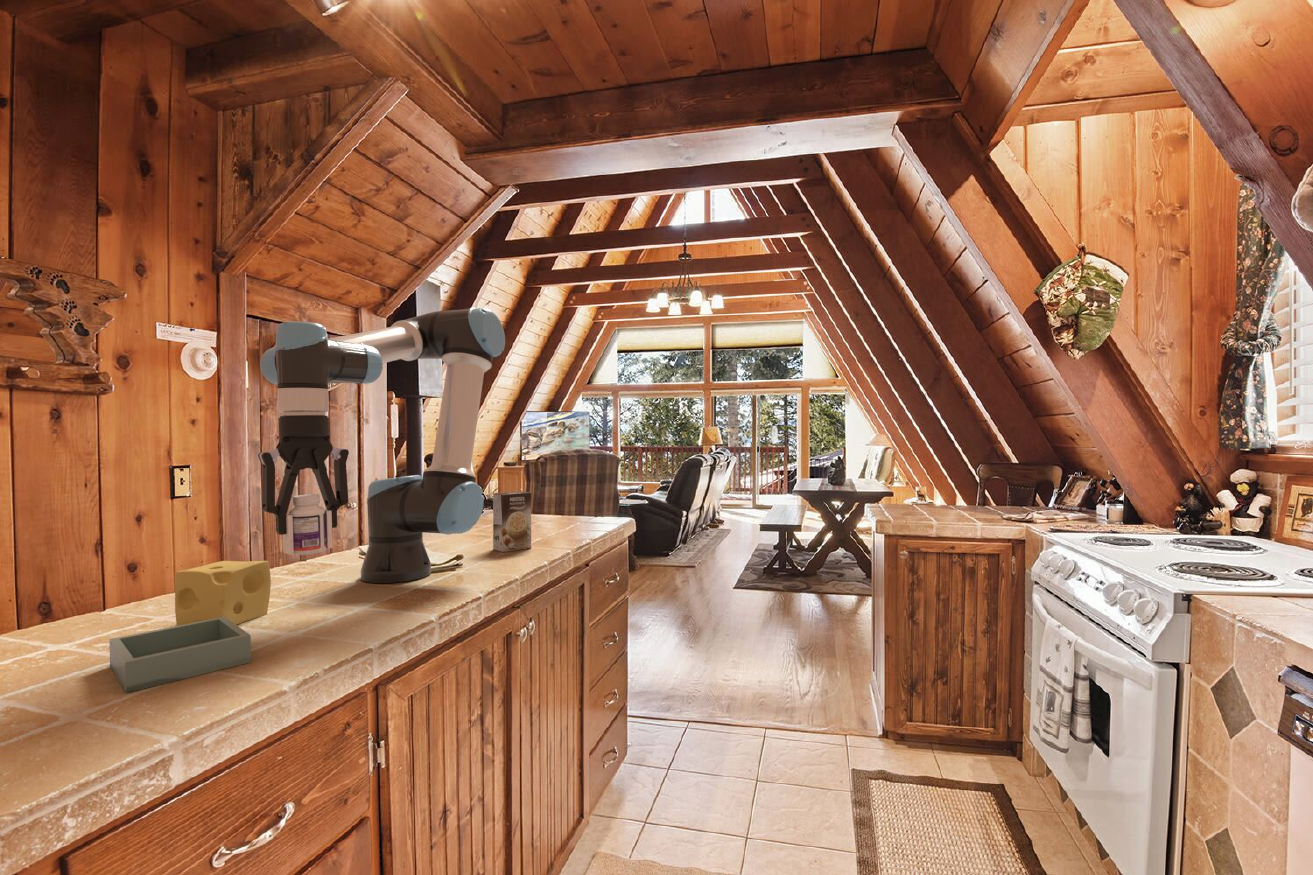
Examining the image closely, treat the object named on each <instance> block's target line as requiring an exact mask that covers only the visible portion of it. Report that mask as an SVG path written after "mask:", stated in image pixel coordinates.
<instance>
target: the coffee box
mask: <svg viewBox="0 0 1313 875" xmlns="http://www.w3.org/2000/svg"><path fill="white" fill-rule="evenodd" d="M492 509H493V510H492V529H493V530H492V549H493V550H494V551H498V552H502V553H505V552H513V551H520V550H521V549H522V550H528V549H527V548H529V549H531V548H532V492H530V491H529V492H527V491H509V492H493V494H492Z"/></svg>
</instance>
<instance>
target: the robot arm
mask: <svg viewBox="0 0 1313 875" xmlns="http://www.w3.org/2000/svg"><path fill="white" fill-rule="evenodd" d="M275 330H276V334H275V346H273V347H271V348H269V349H267V350H265V352H264V353H263V354H262V356H261V358H260V361H259V362H260V363H259V366H260V371H261V373H262V375H263V377H264V378H265V380H267V382H269V383H270V384H273V385H275V386H277V407H278V408H277V410H278V412H279V413H282V415H281V416H280V415H279V417H278V418H277V419H278V420H277V421H278V423H277V424H278V443H277V445H276V447H275V449H271V450H268V451H266V452H265V451H261V452H259V453H258V454H257V457H258V459H259V462H260V465H261V510H262V511H263V512H264V513H265V512H266V513H269V514H273V515H274V516H275V532H276V534H277V535H279V536H282V553H283V554H286V555H289V556H290V555H293V554H294V549H293V516H292V515H290V514H289V513H288V510H289V508H290V503H291V501H292V498H293V492H294V489H295V486H296V481H297V479H298V476H299V474H300V470H306V469H311V472H312V473H313V474H314V476H315V480H316V483H317V485H318V488H319V491H320V496H321V497H322V501H323V502H324V506H325V508H326V509H325V508H324V510H325V532H326V549H327V550H328V549H333V548H334V547H333V545H334V544H333V529H336V528H337V527H338V510H339V509H340V507H343V506H346V505H348V504H349V489H348V487H349V486H348V472H347V470H348V469H347V461H348V457H349V454H350V451H349V450H348V449H346V448H340V447H334V445H333V444H332V442H331V440H330V436H331V435H330V433H331V432H330V417H328V415H326V413H327V412H329V411H330V403H329V384H330V385H331V384H355V385H362V384H366V385H367V384H368V385H369V384H372V383H374V382H376V381H377V380H378V379H379V378H380V376H381V375H382V373H383V368H384V367H383V365H384V364H385V363H390V362H393V361H399V360H403V361H406V362H411V361H415V360H421V359H422V360H424V359H425V360H427V359H436V360H437V359H440V360H441V361H442V362H443V363H444V365H445V366H446V372H445V378H444V385H443V388H442V389H443V390H442V395H441V396H442V397H441V403H440V409H439V417H438V421H437V422H438V424H437V430H436V435H435V440H434V448H433V454H432V460H431V464H430V465H429V466H428V467H427V468H426V469H424V470H423V474H422V476H421V475H419V474H414V475H406V476H399V477H392V478H385V479H383V478H382V479H377V480H374V481H372V482H370V484H369V485H368V487H367V488H368V490H367V491H368V492H367V498H366V501H367V502H366V503H367V504H366V505H367V526H368V528H367V529H368V546H367V550H366V553H365V555H364V558H363V562H362V564H361V568H360V580H361V581H362V582H365V583H368V584H369V583H371V584H392V583H393V584H394V583H402V582H404V583H405V582H409V581H414V580H418V579H422V578H425V577H428V576H429V575H431V574H432V563H431V560H430V558H429V555H428V552H427V549H426V546H425V544H424V540H423V537H424V535H423V534H424V533H425V534H443V535H453V534H455V535H457V534H458V535H459V534H460V535H461V534H464V533H467V532H469V531H470V530H471V529H472V528H473V527H474V526H476V525H477V523H478V522H479V520H480V518H481V516H482V514H483V509H484V505H485V503H484V502H485V499H484V498H485V497H484V495H483V489H482V487H481V486H480V485H479V484H478V483H476V480H477V476H476V475H475V474H474V472H473V471H472V469H471V468H472V461H473V455H474V454H473V453H474V448H475V447H474V446H475V441H476V440H475V439H476V432H477V425H478V418H479V411H480V405H481V398H482V390H483V384H484V377H485V376H484V375H485V373H486V372H488V371H489V370H491V369H492V367H493V361H494V360H493V358H497V357H498V356H500V355H501V354H502V353H503V352H504V350H505V346H506V334H505V331H504V327H503V325H502V322H501V319H500V318H499V317H498V315H497V314H496V313H495V312H494V311H492V309H489V308H487V307H479V308H478V307H477V308H476V307H469V308H465V309H452V310H439V311H433V312H427V313H425V314H421V315H417V316H414V317H413V316H412V317H411V318H407V319H403V320H397V321H395V322H394V323H393V324H391V326H389V327H384V328H383V327H382V328H378V329H373V330H369V331H367V330H366V331H363V332H358V333H351V334H346V335H342V336H337V337H336V336H335V337H330V338H329V335H328V334H327V327H326V326H324V325H323V324H320V323H317V322H316V323H315V322H312V321H311V322H310V321H284V322H281V323H279V324H278V325H277V327H276V329H275ZM330 455H331V459H332V460H333V475H334V488H335V489H334V490H333V487H332V483H331V480H330V477H329V475H328V474H329V473H328V468H327V466H326V460H328V457H329V456H330ZM278 457H280V459H281V460H283V462H285V467H284V470H283V471H284V472H283V473H284V475H283V479H282V482H281V486H280V489H279V493H278V496H277V500H276V466H275V464H276V463H277V462H278Z"/></svg>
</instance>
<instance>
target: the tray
mask: <svg viewBox="0 0 1313 875" xmlns="http://www.w3.org/2000/svg"><path fill="white" fill-rule="evenodd" d="M251 636H252V635H251V634H250V633H249V632H247V631H245V630H244V629H242V628H241V627H240V626H238V624H237V625H236V624H234V623H233V622H231V621H230V620H229V619H227V618H226V617H220V618H215V619H210V620H205V621H200V622H195V623H189V624H184V625H179V626H177V625H174V626H169V627H165V628H159V629H155V630H154V629H153V630H149V631H144V632H143V631H142V632H138V633H133V634H129V635H123V636H117V637H114V638H113V637H112V638H109V639H108V640H109V668H110V669H111V671H112V672H113V675H114V676H115V678H116V679H117V681H118V683H119V684H120V686H121V688H122V689H123V690H124V692H125V694H129V693H133V692H136V691H141V690H144V689H147V688H148V689H150V688H152V687H157V686H161V685H165V684H168V683H172V682H177V681H181V680H186V679H189V678H193V677H197V676H202V675H206V674H209V673H213V672H218V671H222V670H226V669H230V668H234V667H236V666H242V665H245V664H249V663H250V664H251V662H252V642H251Z"/></svg>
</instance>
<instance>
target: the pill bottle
mask: <svg viewBox="0 0 1313 875" xmlns="http://www.w3.org/2000/svg"><path fill="white" fill-rule="evenodd" d="M320 497H321V494H320V493H319V494H318V493H310V494H309V493H308V494H298V495H292V503H293V504H292V506H294V508H292V509H291V510H290V511H289V512H288V514H290V515H292V516H293V549H294V554H292V555H294V556H302V555H303V556H305V555H314V554H320V553H322V552H325V551H326V549H327V548H326V532H325V508H323V507H322V506H320V503H321V498H320Z"/></svg>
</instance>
